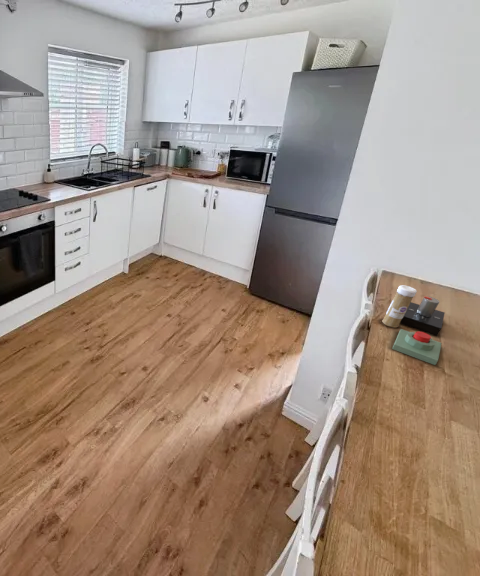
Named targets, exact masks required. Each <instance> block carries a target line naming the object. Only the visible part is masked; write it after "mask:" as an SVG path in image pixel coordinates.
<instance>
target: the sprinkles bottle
mask: <svg viewBox="0 0 480 576" xmlns="http://www.w3.org/2000/svg"><path fill="white" fill-rule="evenodd" d="M417 292H418V291H417V289H416V288H414V287H412V286H409V285H405V284H404V285H403V284H401V285H399V286H398V288H397V290H396V293H395V295H394V297H393V299H392V301H391V302H390V304H389V307H388V308H387V310H386V313H385V315H384V317H383V319H382V321H381V323H382V324H383V325H385V326H387V327H390V328H398V327H400V324H399V323H400V322H401V320H402V318H403V316H404V314H405V313H406V311H407V308H408V306H409V304H410V302H412V300H413V298H414V297H415V296H416V294H417Z"/></svg>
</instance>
